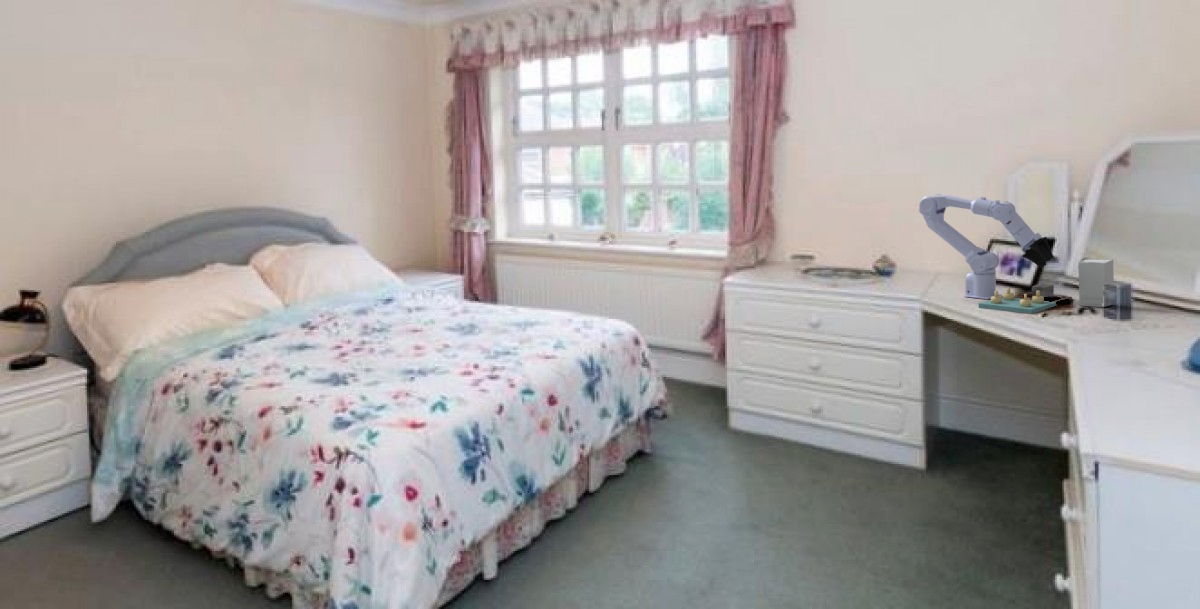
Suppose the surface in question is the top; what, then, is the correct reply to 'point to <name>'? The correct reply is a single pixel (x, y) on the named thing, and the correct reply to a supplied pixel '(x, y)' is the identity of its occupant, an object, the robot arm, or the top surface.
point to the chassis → (1017, 303)
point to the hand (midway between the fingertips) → (1047, 262)
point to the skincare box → (1094, 281)
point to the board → (1045, 292)
